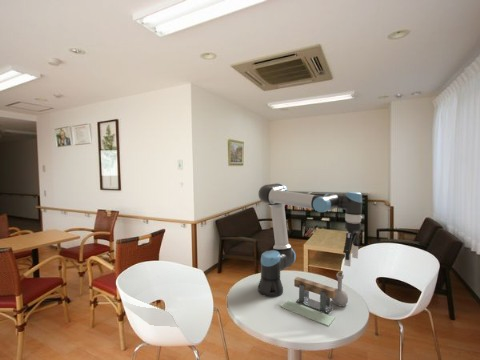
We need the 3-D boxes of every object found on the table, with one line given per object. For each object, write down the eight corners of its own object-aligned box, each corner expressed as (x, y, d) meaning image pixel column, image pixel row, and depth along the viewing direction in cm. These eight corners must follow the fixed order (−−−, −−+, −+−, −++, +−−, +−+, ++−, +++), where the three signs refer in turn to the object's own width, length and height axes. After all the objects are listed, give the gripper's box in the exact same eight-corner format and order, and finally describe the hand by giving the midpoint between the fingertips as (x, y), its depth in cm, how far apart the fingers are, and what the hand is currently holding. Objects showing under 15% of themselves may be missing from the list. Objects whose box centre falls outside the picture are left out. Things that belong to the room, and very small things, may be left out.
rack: (296, 302, 142) (296, 283, 141) (301, 297, 147) (302, 279, 147) (328, 314, 130) (328, 294, 130) (332, 308, 136) (333, 289, 135)
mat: (281, 306, 137) (281, 306, 137) (288, 300, 143) (288, 299, 143) (328, 326, 121) (328, 325, 121) (334, 318, 127) (334, 317, 127)
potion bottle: (349, 307, 136) (350, 275, 135) (332, 306, 138) (332, 273, 137) (346, 299, 145) (347, 268, 144) (329, 297, 146) (330, 267, 145)
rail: (294, 286, 144) (294, 279, 144) (297, 283, 147) (297, 276, 147) (333, 299, 130) (333, 291, 130) (336, 296, 133) (336, 288, 133)
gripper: (353, 227, 120) (352, 271, 121) (366, 218, 139) (364, 256, 141) (337, 225, 125) (336, 267, 126) (352, 216, 144) (350, 253, 146)
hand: (351, 261), depth 133 cm, fingers open, 13 cm apart
